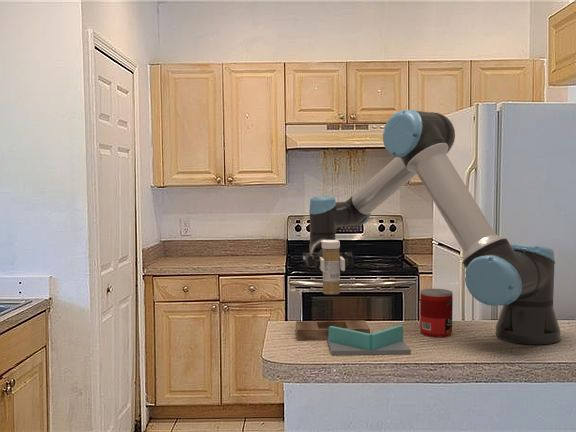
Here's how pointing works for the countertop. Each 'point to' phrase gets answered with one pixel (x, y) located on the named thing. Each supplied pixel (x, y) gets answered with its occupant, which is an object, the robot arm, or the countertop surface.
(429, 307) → the canned food
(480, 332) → the countertop surface
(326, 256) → the sprinkles bottle
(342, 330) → the v cradle
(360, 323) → the brown hollow frame
